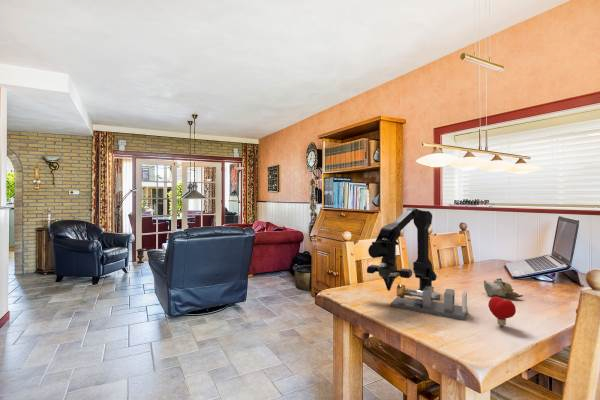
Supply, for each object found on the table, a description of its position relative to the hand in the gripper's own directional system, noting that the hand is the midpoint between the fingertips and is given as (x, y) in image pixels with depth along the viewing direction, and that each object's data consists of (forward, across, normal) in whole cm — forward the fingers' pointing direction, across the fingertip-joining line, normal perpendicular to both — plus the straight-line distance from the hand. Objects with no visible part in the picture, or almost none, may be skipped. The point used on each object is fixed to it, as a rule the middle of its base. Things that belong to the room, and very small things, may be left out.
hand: (388, 290), depth 145 cm
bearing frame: (+5, +17, 0) cm, 17 cm away
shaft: (+2, +13, 0) cm, 13 cm away
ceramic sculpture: (+6, +42, +36) cm, 56 cm away
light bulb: (+5, +43, -5) cm, 43 cm away
